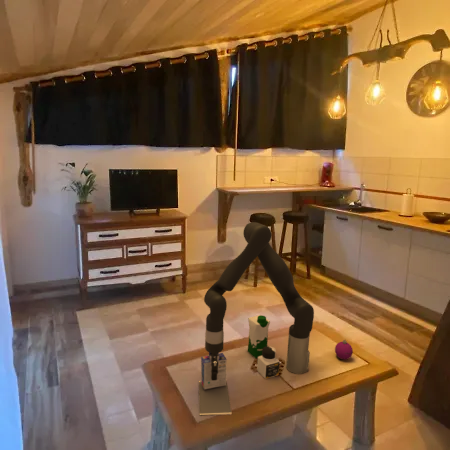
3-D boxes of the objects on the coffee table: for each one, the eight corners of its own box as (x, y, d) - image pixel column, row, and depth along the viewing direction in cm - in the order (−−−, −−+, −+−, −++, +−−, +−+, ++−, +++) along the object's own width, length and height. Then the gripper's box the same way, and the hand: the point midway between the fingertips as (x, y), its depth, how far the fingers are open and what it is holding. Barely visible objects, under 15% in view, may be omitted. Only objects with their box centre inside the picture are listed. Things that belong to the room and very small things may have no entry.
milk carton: (255, 360, 175) (257, 321, 170) (244, 351, 182) (246, 313, 178) (270, 355, 179) (272, 317, 175) (258, 346, 187) (260, 309, 182)
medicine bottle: (265, 379, 161) (267, 354, 158) (256, 370, 167) (258, 346, 164) (278, 375, 164) (280, 350, 161) (269, 366, 170) (271, 343, 167)
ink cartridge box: (222, 377, 159) (223, 347, 156) (226, 385, 154) (227, 354, 151) (200, 381, 156) (200, 351, 153) (203, 390, 151) (204, 358, 148)
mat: (226, 381, 159) (226, 380, 159) (231, 414, 139) (231, 413, 139) (198, 382, 158) (198, 381, 158) (199, 415, 138) (199, 414, 138)
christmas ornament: (339, 351, 184) (341, 333, 182) (354, 358, 179) (356, 339, 177) (331, 357, 179) (332, 339, 176) (346, 365, 173) (348, 345, 171)
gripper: (225, 347, 144) (224, 385, 148) (222, 329, 158) (221, 364, 162) (205, 348, 143) (205, 386, 147) (204, 329, 157) (204, 365, 161)
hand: (213, 374), depth 154 cm, fingers closed on ink cartridge box, 6 cm apart
